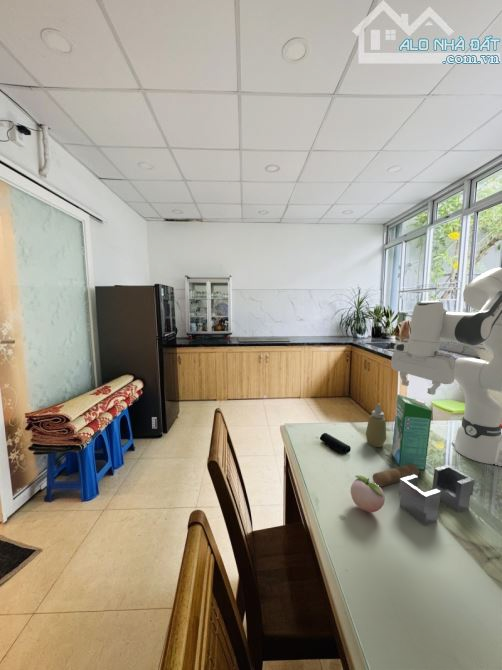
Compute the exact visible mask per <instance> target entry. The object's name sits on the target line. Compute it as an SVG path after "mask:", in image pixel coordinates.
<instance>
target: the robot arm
mask: <svg viewBox="0 0 502 670" xmlns="http://www.w3.org/2000/svg"><path fill="white" fill-rule="evenodd" d="M462 293H463V294H462V296H463V297H462V298H463V301H465V303H466V304H467V305H468V307H470V308H471V309H474V310H477V311H476V312H475V311H474V312H457V311H448V310H446V309H445V308H444V302H442V301H441V300H436V299H435V300H432V299H431V300H421V301H418V302H416V304H414V307H413V311H412V314H411V319H410V335H409V336H408V341H407V342H402V343H397V344H394V346H393V350H394V351H393V352H392V356H391V360H390V361H391V362H390V366H391V370H394V371H397V372H399V376H400V379H401V385H402V386H405V387H408V386H409V384H410V380H408V378H407V376H408V375H411V376H415V377H418V378H421V379H426V380H429V381H431V385H432V386H431V387H428V388H427V392H426V393H427V394H429V395H431V396H433V395H435V394H436V392H437V389H438V388H439V387H440V386H441V384H443V385H450V384H453V383H454V382H455V381H456V382H457V383H458V385H460V388H461V390H462V391H463V395H464V400H465V401H464V412H463V413H464V415H463V416H462V419H461V426H459V427H458V428H457V431H456V436H455V439H454V440H452V441H451V444H452V445H453V447H454V450H455V451H456V452H457V453H458V454H460V455H461V456H463V457H465V458H467V459H469V460H473V461H474V462H479V463H481V464H482V463H483V464H488V465H493V464H495V466H497V465H498V466H497V467H501V466H502V423H501V416H502V406H501V403H500V402H499V401H498V400H497V399H495V398H494V397H492V395H491V394H490V392H489V390H491V391H495V392H498V393H502V267H495V268H492V269H490V270H487V271H486V272H483V273H481V274H480V275H478V276H477V277H476V278H474V279H473V280H472V281H471V282H469V283H468V284H467V285H466V287H464V290H463V292H462ZM441 340H443V341H448V342H455V343H456V342H457V343H461V344H465V345H470V346H477V345H480V344H482V346H483V349H484V350H486V351H487V352H489V354H491V355H493V357H492V360H487V359H486V360H485V359H481V358H475V357H458V358H455V357H454V356H453V355H452V354H451V353H445V352H440V344H441Z"/></svg>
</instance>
